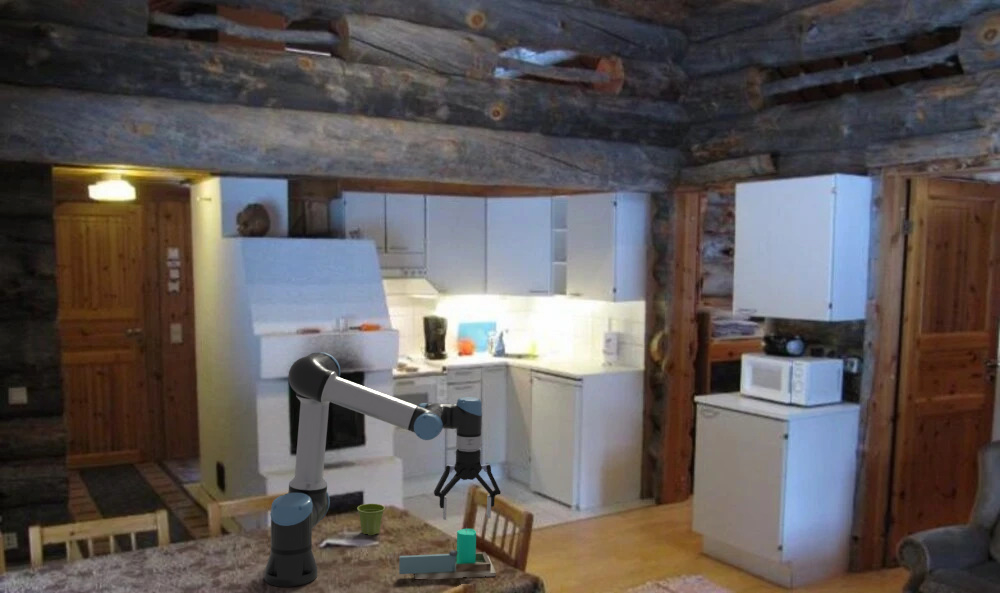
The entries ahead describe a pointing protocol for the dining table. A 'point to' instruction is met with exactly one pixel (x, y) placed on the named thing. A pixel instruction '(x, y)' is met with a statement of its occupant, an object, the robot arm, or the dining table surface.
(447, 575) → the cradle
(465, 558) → the candle
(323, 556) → the dining table surface
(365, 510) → the plant pot
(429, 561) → the keeper
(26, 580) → the dining table surface
